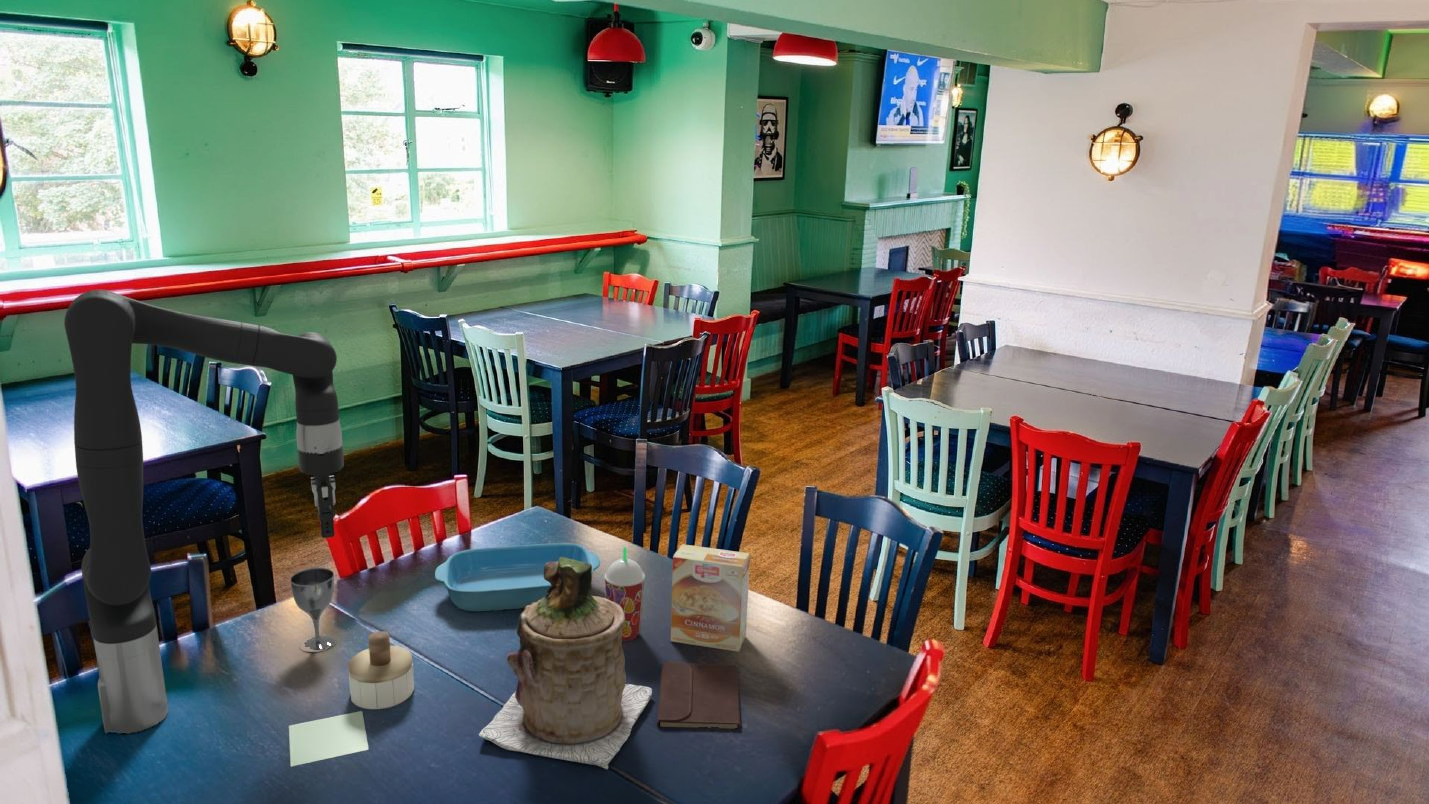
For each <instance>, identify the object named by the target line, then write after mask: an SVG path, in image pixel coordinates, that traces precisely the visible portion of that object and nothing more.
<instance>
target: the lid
mask: <svg viewBox="0 0 1429 804" xmlns="http://www.w3.org/2000/svg"><path fill="white" fill-rule="evenodd" d="M412 663H413V655H412V653H411V652H410V651H409V649H407V648H405V647H402V646H398V645H391V641H390V634H389V632H388V631H376V632H373V633H371V634H369V635H368V648H366V649H364V650H362V651H359V652H358V653H356V654H355V655H354V656H353V657H352V658H350V659H349V661H348V669H349V670H348V675H349V674H350V676H351V677H352V678H353V679H355V680H357V681H360V682H364V683H381V682H386V681H390V680H393V679H396V678H398V677H400V676H402V675H404V674H405V673H406V672H408V671H409V669H410V668H411V666H412Z"/></svg>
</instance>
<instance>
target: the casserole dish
mask: <svg viewBox="0 0 1429 804" xmlns="http://www.w3.org/2000/svg"><path fill="white" fill-rule="evenodd" d="M560 557H565V558H568V559H573V560H577V561H581V562H587V563H589V564H591V565H592V574H591V575H592V576H593V574H594V571H595V570H597V569H598V568H599V567H600V565H601V559H600V557H599V556H598V554H596V553H595V552H593V551H590V550H588V549H587V548H586V547H585V546H584V545H581V544H579V543H578V544H577V543H569V542H555V543H554V542H553V543H539V544H538V543H537V544H535V543H534V544H525V545H524V544H523V545H522V544H521V545H510V546H509V545H505V546H496V547H495V546H492V547H481V548H478V547H477V548H470V549H465V550H461V551H457V552H455V553H453V554H451V555H450V556H449V557H448V558H447V559H446V561H445V562H443V563H441V564H440V565H438V566H437V567H436V568H435V571H434V578H435V580H436V581H437V582H438V583H442V584H444V585H445V588H446V590H447V592H448V595H449V598H450V599H451V602H452V603H453V605H455V606H456V607H457V608H459V609H461V610H464V611H468V612H490V611H491V612H493V611H503V609H507V610H514V609H515V610H517V609H525V607H526V606H528V605H531V604H532V603H533V602H537V601H538V600H541V599H542V598H544V597H546V593H547V590H548V589H549V588H550V587H552V585H551V584H550V582H548V581H546V580H545V579H544V566H545V564H546V563H548V562H558V559H559V558H560ZM492 610H493V611H492Z"/></svg>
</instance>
